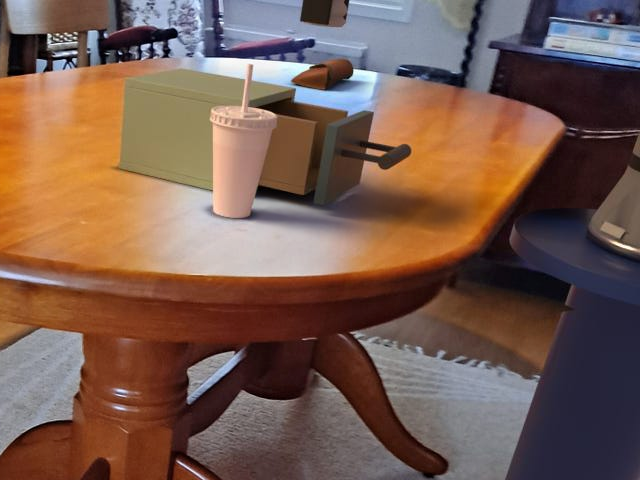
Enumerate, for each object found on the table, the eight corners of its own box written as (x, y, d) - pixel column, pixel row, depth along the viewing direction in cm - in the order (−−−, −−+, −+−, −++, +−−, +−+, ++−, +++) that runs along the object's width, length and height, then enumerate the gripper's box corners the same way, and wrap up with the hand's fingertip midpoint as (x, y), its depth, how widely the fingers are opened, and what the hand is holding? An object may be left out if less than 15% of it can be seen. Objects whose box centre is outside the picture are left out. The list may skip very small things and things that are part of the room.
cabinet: (282, 174, 99) (296, 88, 94) (236, 196, 89) (249, 100, 84) (173, 150, 105) (181, 68, 100) (119, 168, 95) (124, 77, 90)
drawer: (406, 194, 92) (423, 120, 88) (375, 217, 83) (392, 136, 79) (250, 160, 99) (259, 91, 96) (205, 178, 90) (214, 102, 87)
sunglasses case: (313, 72, 177) (333, 45, 173) (337, 94, 176) (359, 68, 172) (288, 81, 162) (310, 52, 158) (315, 105, 162) (338, 77, 158)
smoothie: (196, 217, 81) (213, 64, 74) (202, 199, 86) (218, 55, 80) (262, 225, 80) (285, 72, 74) (264, 207, 86) (285, 63, 79)
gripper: (360, -250, 80) (317, 14, 91) (293, -297, 67) (253, 20, 78) (438, -250, 77) (384, 23, 88) (385, -300, 64) (329, 31, 75)
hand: (323, 21), depth 83 cm, fingers closed on rook chess piece, 4 cm apart
